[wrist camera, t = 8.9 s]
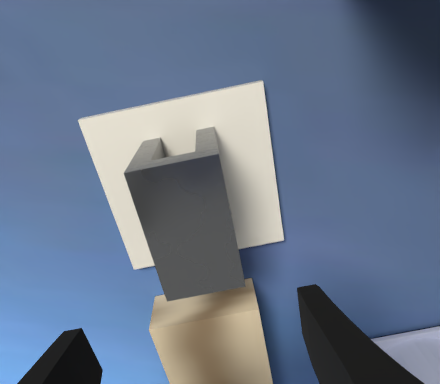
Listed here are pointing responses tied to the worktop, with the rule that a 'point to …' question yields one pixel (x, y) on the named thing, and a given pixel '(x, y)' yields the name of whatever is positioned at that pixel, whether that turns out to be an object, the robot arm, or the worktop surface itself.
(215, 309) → the body
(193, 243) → the grey notched block
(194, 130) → the tile
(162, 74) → the worktop surface
